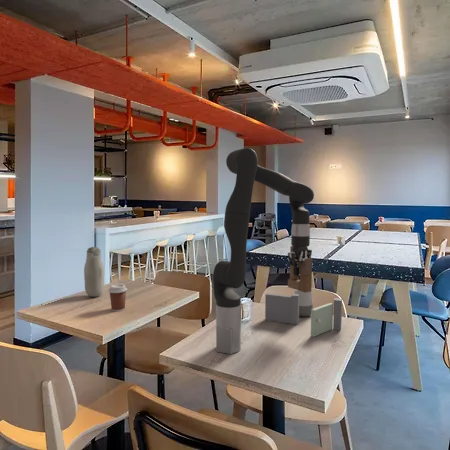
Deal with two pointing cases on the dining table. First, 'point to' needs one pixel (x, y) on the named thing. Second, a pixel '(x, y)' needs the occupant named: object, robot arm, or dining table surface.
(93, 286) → the beige bottle
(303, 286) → the wooden block
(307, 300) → the smart speaker
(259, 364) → the dining table surface
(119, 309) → the coffee cup
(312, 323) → the door
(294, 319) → the wall frame
